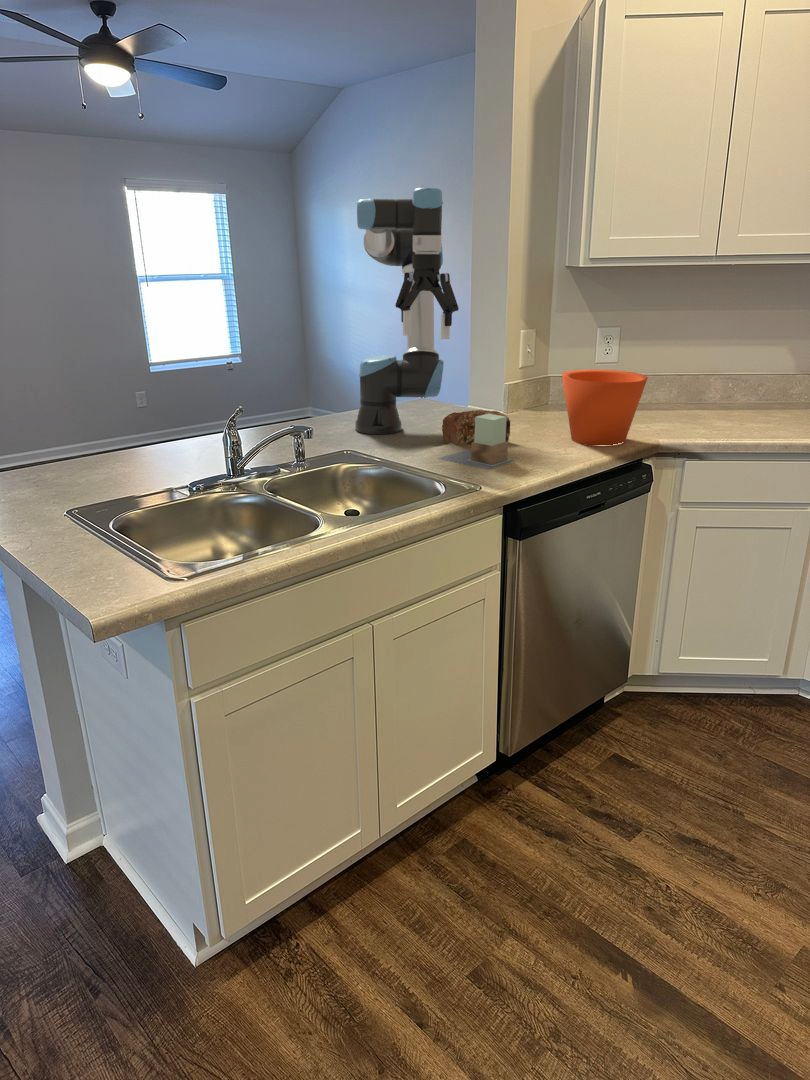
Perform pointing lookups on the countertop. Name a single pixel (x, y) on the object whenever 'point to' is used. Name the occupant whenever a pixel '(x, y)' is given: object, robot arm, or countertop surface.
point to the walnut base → (489, 453)
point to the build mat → (465, 459)
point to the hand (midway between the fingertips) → (425, 337)
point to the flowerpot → (601, 404)
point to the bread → (465, 426)
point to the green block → (490, 429)
